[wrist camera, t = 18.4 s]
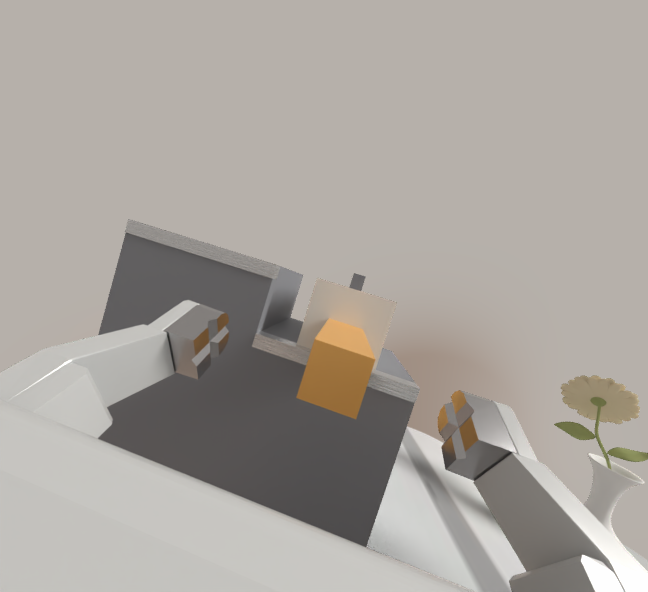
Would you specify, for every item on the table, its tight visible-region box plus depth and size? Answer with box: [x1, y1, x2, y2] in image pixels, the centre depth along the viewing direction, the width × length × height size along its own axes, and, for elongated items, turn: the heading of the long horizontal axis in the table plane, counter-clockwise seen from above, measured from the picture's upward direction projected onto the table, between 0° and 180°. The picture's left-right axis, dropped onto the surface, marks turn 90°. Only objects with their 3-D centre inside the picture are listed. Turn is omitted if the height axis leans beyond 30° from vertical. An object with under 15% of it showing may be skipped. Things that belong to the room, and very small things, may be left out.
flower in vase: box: [554, 375, 648, 547], centre depth 33 cm, size 13×11×25 cm
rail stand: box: [98, 219, 420, 547], centre depth 26 cm, size 12×28×26 cm, turn 84°
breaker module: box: [296, 274, 397, 419], centre depth 21 cm, size 19×7×8 cm, turn 174°
